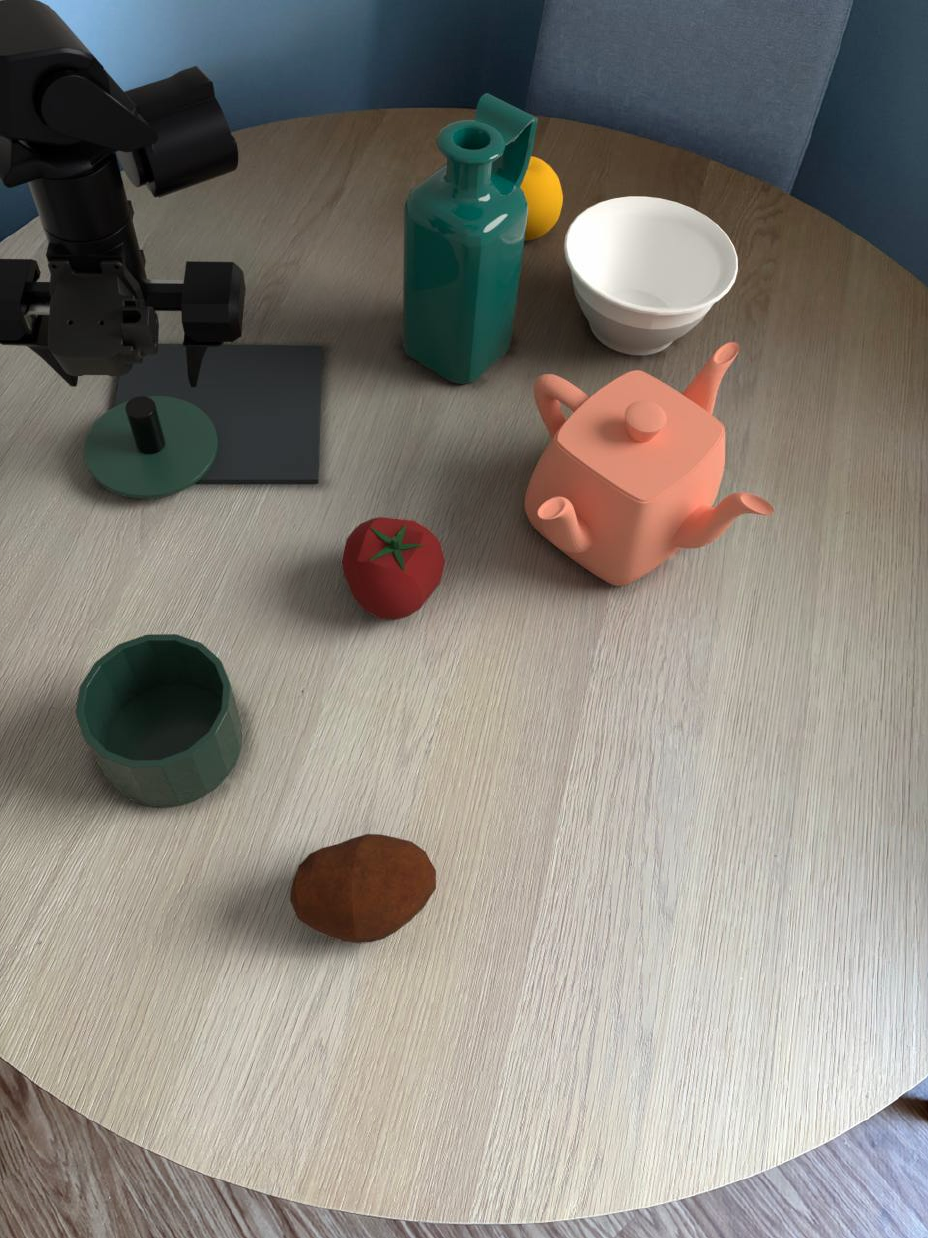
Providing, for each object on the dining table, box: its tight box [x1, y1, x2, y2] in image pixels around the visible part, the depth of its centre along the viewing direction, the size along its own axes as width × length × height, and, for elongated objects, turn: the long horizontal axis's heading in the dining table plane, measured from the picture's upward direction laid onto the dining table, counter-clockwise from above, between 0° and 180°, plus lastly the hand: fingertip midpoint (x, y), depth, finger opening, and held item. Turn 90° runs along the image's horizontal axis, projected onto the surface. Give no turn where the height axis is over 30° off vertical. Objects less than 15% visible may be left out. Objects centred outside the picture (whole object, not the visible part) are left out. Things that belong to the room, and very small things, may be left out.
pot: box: [524, 341, 775, 587], centre depth 84 cm, size 18×17×12 cm
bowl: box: [563, 195, 739, 356], centre depth 99 cm, size 16×16×8 cm
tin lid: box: [83, 396, 218, 500], centre depth 87 cm, size 11×11×6 cm
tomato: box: [340, 516, 446, 621], centre depth 81 cm, size 8×8×7 cm
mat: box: [113, 343, 324, 485], centre depth 93 cm, size 18×16×1 cm
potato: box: [289, 833, 437, 944], centre depth 68 cm, size 7×9×6 cm
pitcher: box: [402, 92, 539, 385], centre depth 90 cm, size 10×8×22 cm
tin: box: [75, 633, 243, 808], centre depth 73 cm, size 10×10×7 cm
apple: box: [520, 155, 564, 241], centre depth 106 cm, size 8×8×8 cm
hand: (134, 382), depth 83 cm, fingers open, 9 cm apart
